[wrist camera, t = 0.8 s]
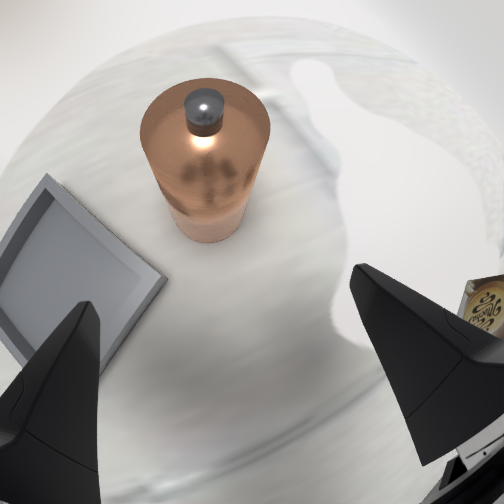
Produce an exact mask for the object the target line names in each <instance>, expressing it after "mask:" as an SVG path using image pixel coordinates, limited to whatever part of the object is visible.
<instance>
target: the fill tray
mask: <svg viewBox="0 0 504 504" xmlns="http://www.w3.org/2000/svg"><path fill="white" fill-rule="evenodd" d="M167 280H168V279H167V278H166V277H165V276H163V275H162V274H161V273H160V272H158V271H157V270H156V269H155V268H154V267H152V266H151V265H150V264H149V263H147V262H146V261H145V260H144V259H143V258H141V257H140V256H139V255H138V254H137V253H135V252H134V251H133V250H132V249H131V248H130V247H128V246H127V245H126V244H125V243H124V242H123V241H121V240H120V239H119V238H118V237H117V236H116V235H114V234H113V233H112V232H111V231H110V230H109V229H108V228H106V227H105V226H104V225H103V224H102V223H101V222H100V221H99V220H98V219H96V218H95V217H94V216H93V215H92V214H91V213H90V212H89V211H88V210H87V209H86V208H84V207H83V206H82V205H81V204H80V203H79V202H78V201H77V200H76V199H75V198H74V197H73V196H72V195H71V194H70V193H69V192H68V191H67V190H65V189H64V188H63V187H62V186H61V185H60V184H59V183H58V182H57V181H56V180H54V179H53V178H52V177H51V176H50V175H49V174H48V173H46V175H45V176H44V177H43V178H42V180H41V181H40V182H39V184H38V185H37V186H36V188H35V189H34V191H33V192H32V193H31V195H30V196H29V198H28V199H27V200H26V202H25V203H24V205H23V206H22V208H21V209H20V211H19V212H18V214H17V216H16V217H15V219H14V220H13V222H12V223H11V225H10V227H9V228H8V230H7V232H6V233H5V235H4V237H3V239H2V240H1V242H0V340H1V341H2V343H3V344H4V345H5V347H6V348H7V349H8V350H9V352H10V353H11V354H12V356H13V357H14V358H15V359H16V360H17V362H18V363H19V364H20V365H21V366H22V368H23V367H24V366H25V365H26V363H27V362H28V361H29V360H30V358H31V357H32V356H33V355H34V353H35V352H36V351H37V350H38V348H39V347H40V346H41V345H42V344H43V342H44V341H45V340H46V339H47V338H48V336H49V335H50V334H51V333H52V332H53V330H54V329H55V328H56V327H57V326H58V325H59V323H60V322H61V321H62V320H63V319H64V318H65V317H66V316H67V314H68V313H69V312H70V311H71V310H72V309H73V308H74V307H75V306H76V304H77V303H78V302H80V301H87V300H89V301H91V302H92V304H93V306H94V308H95V310H96V312H97V314H98V316H99V318H100V323H101V327H100V372H99V377H100V375H101V374H102V372H103V371H104V369H105V368H106V366H107V365H108V363H109V362H110V360H111V359H112V357H113V356H114V354H115V353H116V351H117V350H118V348H119V347H120V346H121V344H122V343H123V341H124V340H125V338H126V337H127V335H128V334H129V333H130V331H131V330H132V328H133V327H134V325H135V324H136V323H137V321H138V320H139V318H140V317H141V316H142V314H143V313H144V311H145V310H146V309H147V307H148V306H149V305H150V303H151V302H152V300H153V299H154V298H155V296H156V295H157V294H158V292H159V291H160V290H161V288H162V287H163V285H164V284H165V283H166V281H167Z"/></svg>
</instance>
